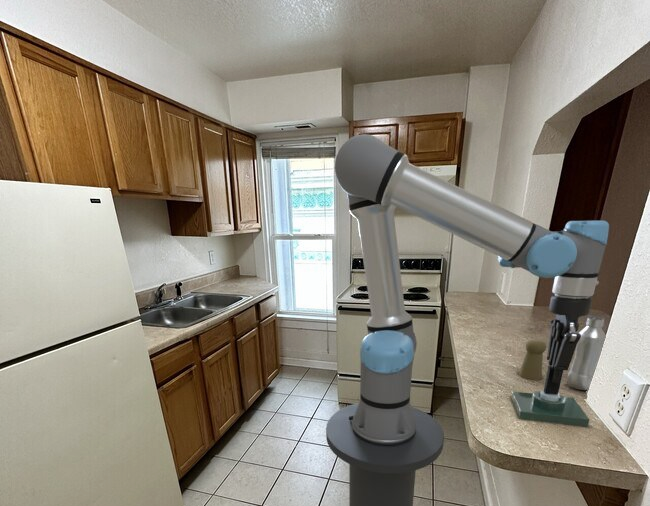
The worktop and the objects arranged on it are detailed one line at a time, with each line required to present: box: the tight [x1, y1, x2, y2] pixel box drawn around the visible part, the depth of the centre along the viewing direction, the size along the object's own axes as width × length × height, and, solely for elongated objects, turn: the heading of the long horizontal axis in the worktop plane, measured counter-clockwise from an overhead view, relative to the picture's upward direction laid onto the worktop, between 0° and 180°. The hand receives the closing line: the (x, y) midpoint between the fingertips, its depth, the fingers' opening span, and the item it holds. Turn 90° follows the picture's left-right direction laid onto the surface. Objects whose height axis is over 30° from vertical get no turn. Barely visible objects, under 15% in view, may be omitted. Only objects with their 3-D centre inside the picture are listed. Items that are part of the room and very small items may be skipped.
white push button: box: [540, 389, 561, 402], centre depth 86 cm, size 4×4×2 cm
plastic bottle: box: [566, 316, 607, 391], centre depth 95 cm, size 6×7×20 cm
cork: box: [518, 339, 547, 381], centre depth 105 cm, size 6×6×11 cm
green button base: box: [511, 390, 590, 428], centre depth 86 cm, size 14×11×4 cm
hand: (550, 392), depth 85 cm, fingers closed
